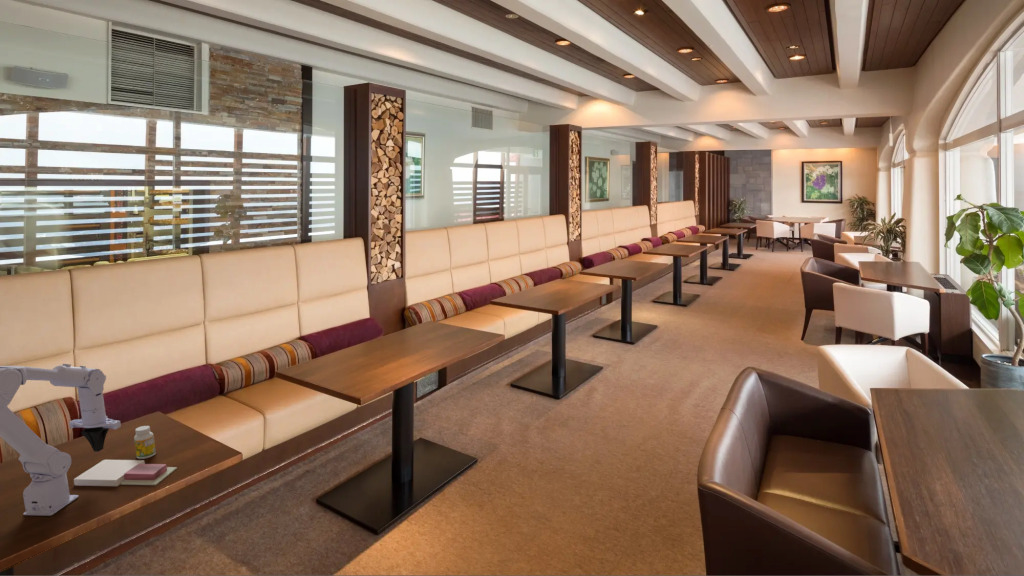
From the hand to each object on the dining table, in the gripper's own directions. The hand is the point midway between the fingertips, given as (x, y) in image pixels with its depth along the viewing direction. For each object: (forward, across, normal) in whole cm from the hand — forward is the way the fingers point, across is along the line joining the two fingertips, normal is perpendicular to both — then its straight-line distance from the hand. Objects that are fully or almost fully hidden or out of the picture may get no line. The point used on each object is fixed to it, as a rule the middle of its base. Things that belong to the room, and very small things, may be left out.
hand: (98, 450), depth 169 cm
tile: (+8, -13, -2) cm, 15 cm away
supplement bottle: (+9, -3, -14) cm, 17 cm away
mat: (+9, -14, -2) cm, 16 cm away
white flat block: (+9, -2, -1) cm, 9 cm away
